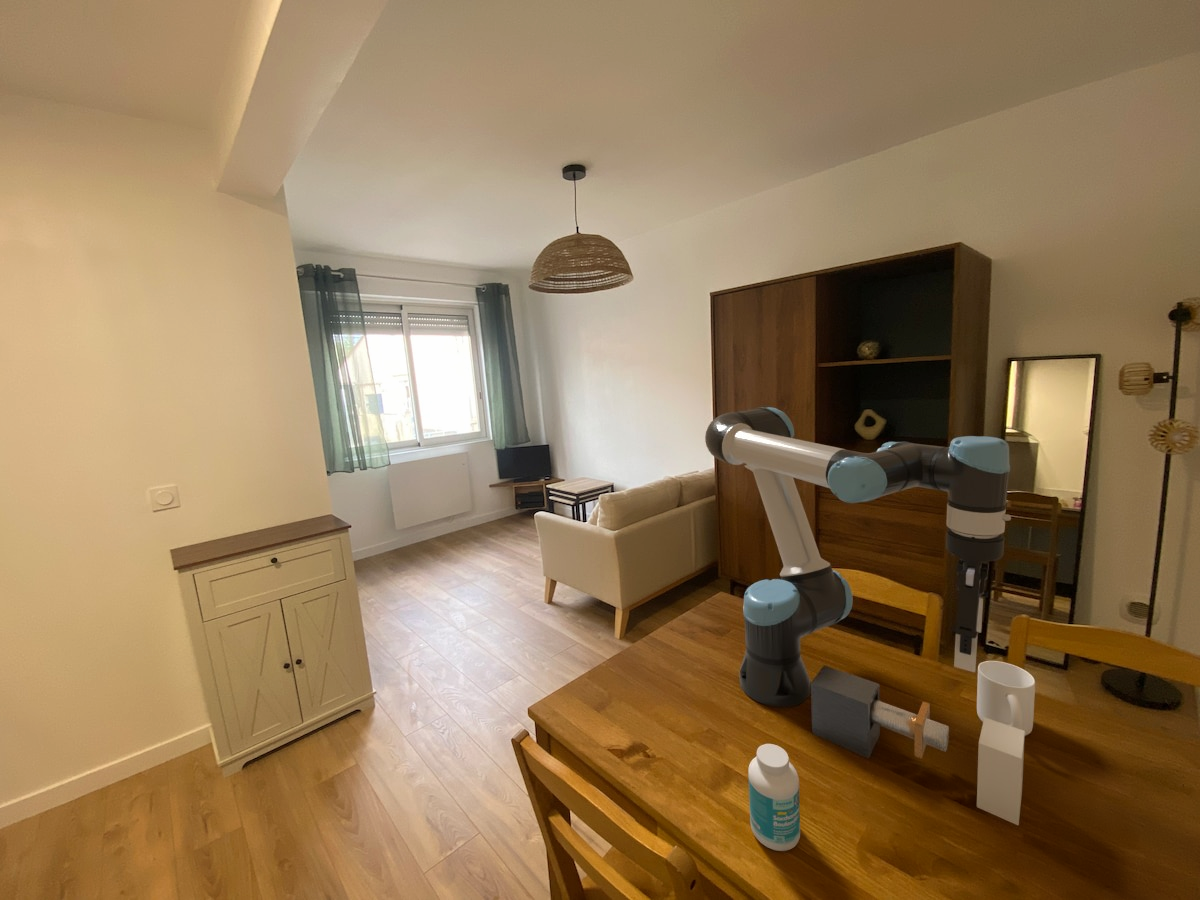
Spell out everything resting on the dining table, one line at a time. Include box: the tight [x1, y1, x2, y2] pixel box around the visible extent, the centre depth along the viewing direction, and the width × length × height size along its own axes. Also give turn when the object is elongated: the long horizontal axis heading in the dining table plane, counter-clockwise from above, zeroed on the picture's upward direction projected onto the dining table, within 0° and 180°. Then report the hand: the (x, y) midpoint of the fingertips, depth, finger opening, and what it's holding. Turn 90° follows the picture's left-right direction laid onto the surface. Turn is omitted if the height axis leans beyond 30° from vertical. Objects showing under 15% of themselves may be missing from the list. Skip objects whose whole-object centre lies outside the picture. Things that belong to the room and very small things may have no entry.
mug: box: [976, 660, 1036, 736], centre depth 89 cm, size 12×8×10 cm
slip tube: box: [870, 699, 950, 759], centre depth 87 cm, size 20×6×6 cm, turn 46°
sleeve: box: [810, 665, 880, 759], centre depth 91 cm, size 10×7×11 cm
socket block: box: [976, 717, 1026, 826], centre depth 75 cm, size 5×7×12 cm
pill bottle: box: [747, 743, 801, 852], centre depth 74 cm, size 8×7×14 cm
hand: (968, 648), depth 82 cm, fingers open, 13 cm apart
